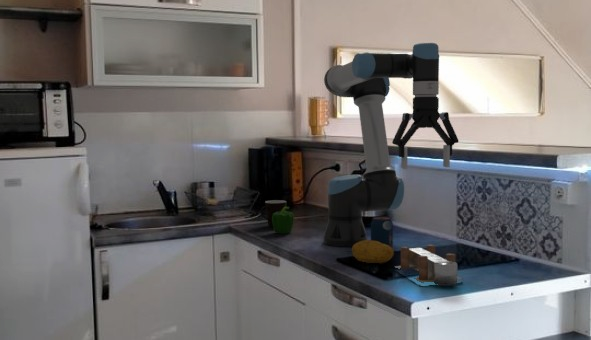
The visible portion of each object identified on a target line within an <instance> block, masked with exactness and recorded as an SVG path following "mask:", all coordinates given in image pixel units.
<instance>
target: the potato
mask: <svg viewBox="0 0 591 340" xmlns="http://www.w3.org/2000/svg"><path fill="white" fill-rule="evenodd" d="M351 247H352V248H351V253H352V254H353V257H354V258H355V259H356V260H357V261H359V262H361V261H362V263H364V262H370V263H379V264H384V263H387V262H389V261H390V260H391V259H392V258H393V257H394V255H395V251H394V248H393V249H392V248H391V247H390V246H388V245H385V244H383V243H380V242H378V241H371V240H368V239H367V240H363V241H360V242H358V243H356V244H354V245H353V246H351Z"/></svg>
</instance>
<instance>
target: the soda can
mask: <svg viewBox="0 0 591 340" xmlns="http://www.w3.org/2000/svg"><path fill="white" fill-rule="evenodd" d="M393 223H394V222H393V220H392V217H390V216H384V215H383V216H382V215H379V216H374V217H372V220H371V222H370V241H378V242H380V243H383V244H385V245H388V246H390V247H391V248H392V249H393V250H394V234H393V233H394V225H393Z"/></svg>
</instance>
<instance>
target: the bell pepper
mask: <svg viewBox="0 0 591 340" xmlns="http://www.w3.org/2000/svg"><path fill="white" fill-rule="evenodd" d="M285 209H286V210H289V209H290V206H286V207H284V208H283V209H282V213H281V212H275V213H273V215H272V223H273V227H274V228H273V230H274V233H275V234H280V235H286V234H287V235H288V234H289V233H291V231H292V229H293V225H294V220H295V219H294V216H295V215H294V213H293V211H285Z"/></svg>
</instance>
